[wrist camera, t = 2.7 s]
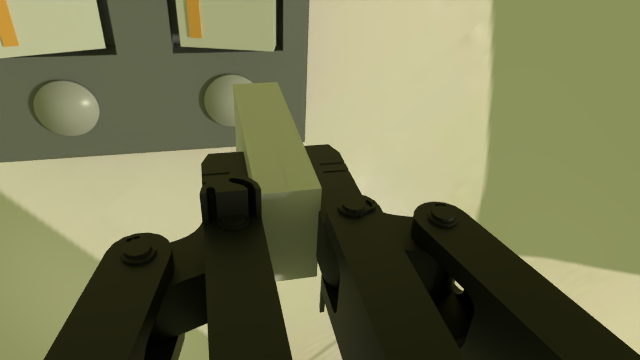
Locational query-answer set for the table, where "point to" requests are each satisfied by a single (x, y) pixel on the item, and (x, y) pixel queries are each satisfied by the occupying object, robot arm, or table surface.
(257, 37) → the rocker
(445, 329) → the robot arm
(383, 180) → the table surface
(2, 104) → the switch panel
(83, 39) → the pale rectangular block
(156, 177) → the table surface
